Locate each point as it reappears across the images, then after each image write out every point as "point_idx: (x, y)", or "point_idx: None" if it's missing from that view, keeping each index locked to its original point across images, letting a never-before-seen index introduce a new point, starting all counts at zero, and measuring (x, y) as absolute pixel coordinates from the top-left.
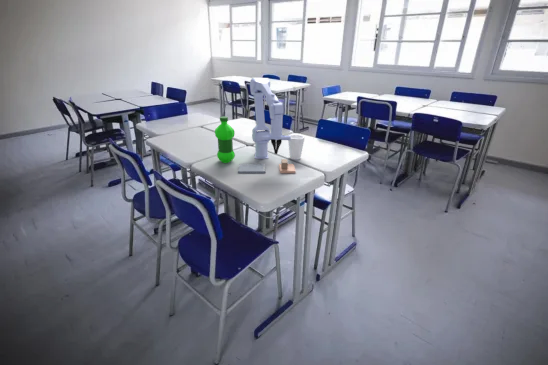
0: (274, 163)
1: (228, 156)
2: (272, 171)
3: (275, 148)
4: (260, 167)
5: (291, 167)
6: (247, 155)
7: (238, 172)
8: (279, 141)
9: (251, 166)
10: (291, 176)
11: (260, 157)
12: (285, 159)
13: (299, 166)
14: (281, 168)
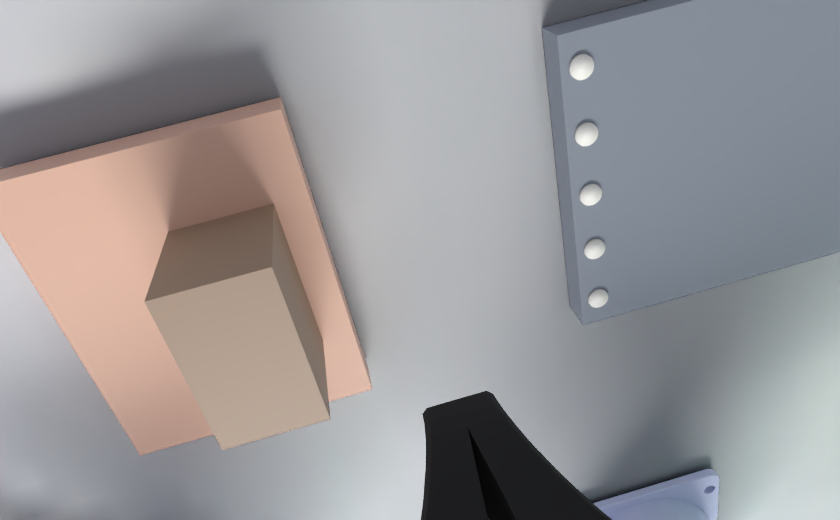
0: None
1: None
2: (431, 148)
3: (525, 510)
4: (649, 181)
5: (121, 320)
6: (789, 513)
7: None
8: None
9: (788, 180)
10: (13, 9)
11: (650, 502)
12: (249, 436)
13: (50, 446)
14: (286, 228)
